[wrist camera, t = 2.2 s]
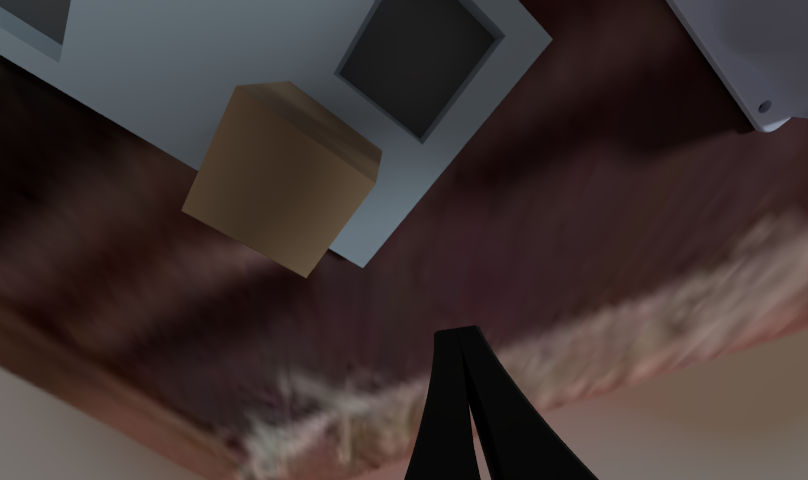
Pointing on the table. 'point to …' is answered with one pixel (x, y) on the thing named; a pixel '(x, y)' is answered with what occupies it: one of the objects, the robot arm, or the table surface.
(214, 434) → the table surface
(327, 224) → the walnut block
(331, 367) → the table surface
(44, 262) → the table surface
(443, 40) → the board
